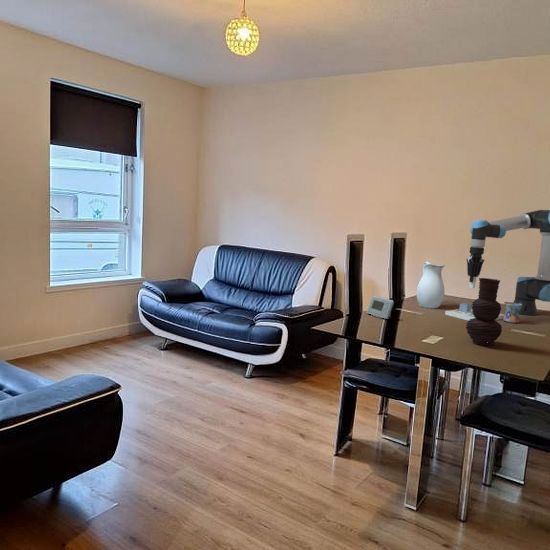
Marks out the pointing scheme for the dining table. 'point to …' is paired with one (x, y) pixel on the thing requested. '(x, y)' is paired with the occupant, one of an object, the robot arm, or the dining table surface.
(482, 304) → the vase
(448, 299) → the dining table surface
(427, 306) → the pitcher
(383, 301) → the digital clock
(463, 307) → the tab
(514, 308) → the mug
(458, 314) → the switch board
